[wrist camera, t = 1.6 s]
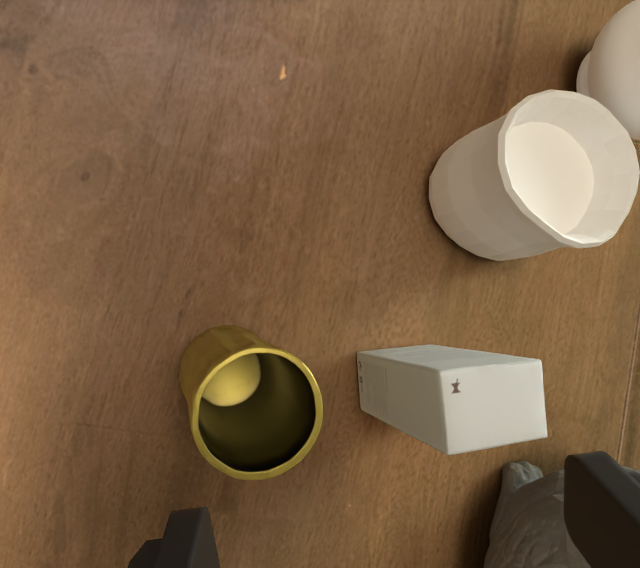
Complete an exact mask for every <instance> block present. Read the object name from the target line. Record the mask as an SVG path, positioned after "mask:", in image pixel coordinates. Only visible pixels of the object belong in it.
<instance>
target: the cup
mask: <svg viewBox="0 0 640 568" xmlns="http://www.w3.org/2000/svg"><path fill="white" fill-rule="evenodd" d="M639 173H640V170H639V164H638V159H637V154H636V149H635V147H634V145H633V142H632V140H631V138H630V136H629V133H628V131H627V130H626V129H625V128H624V127H623V126H622V125H621V124H620V122H619V121H618V120H617V119H616V118H615V117H614V116H613V114H612V113H611V112H610V111H609V110H608V109H607V108H605V107H604V106H603V105H602V104H600V103H599V102H598V101H596V100H595V99H592V98H590V97H587V96H584V95H582V94H579V93H577V92H572V91H562V90H552V89H550V90H547V91H543V92H540V93H536V94H533V95H529V96H527V97H526V98H524V99H523V100H522V101H521V102H519V103H518V104H517V105H516V106H514V107H513V108H512V109H511V110H510V111H509V112H508V113H507V114H505V115H503V116H502V117H500V118H499V119H497V120H495V121H493V122H491V123H489V124H487V125H485V126H483V127H480V128H478V129H476V130H473V131H472V132H470V133H469V134H467V135H465V136H464V137H462V138H461V139H459V140H457V141H456V142H455V143H454V144H453V145H452V146H450V147H449V148H448V149H447V150H446V151H445V152H444V153H443V154H442V155H441V157H440V158H439V160H438V162H437V164H436V166H435V168H434V170H433V172H432V174H431V175H430V177H429V201H430V205H431V208H432V211H433V215H434V218H435V220H436V221H437V223H438V224H439V225H440V227H441V228H442V229H443V231H444V232H445V233H446V235H447V236H448V237H450V238H451V239H452V240H453V241H454V242H456V243H457V244H458V245H459V246H461V247H462V248H464V249H466V250H468V251H469V252H471V253H473V254H475V255H476V256H480V257H484V258H488V259H492V260H496V261H504V260H513V259H520V258H526V257H532V256H536V255H539V254H542V253H545V252H548V251H551V250H554V249H557V248H562V247H574V248H586V247H597V246H599V245H601V244H603V243H604V242H606V241H607V240H609V239H610V238H612V237H613V236H614V235H615V234H616V232H617V230H618V229H619V227H620V226H621V224H622V223H623V221H624V219H625V218H626V216H627V215H628V213H629V211H630V208H631V206H632V203H633V201H634V198H635V196H636V193H637V188H638V181H639Z"/></svg>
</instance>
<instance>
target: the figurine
mask: <svg viewBox="0 0 640 568" xmlns="http://www.w3.org/2000/svg"><path fill="white" fill-rule="evenodd" d="M621 467H622V468H623V469H625V470H626V471H627V472H631V471H635V472H637V473H639V474H640V471H638V470H636V469H632V468H629V467H625V466H621ZM489 538H490V544H489V548H488V550H487V553H486V555H485V560H484V567H483V568H591V567H590V565H589V564H588V563H587V561H586V560H585V558H584V557H583V556H582V554H581V553H580V552H579V550H578V549H577V548H576V546H575V545H574V543H573V542H572V540H571V538H570V536H569V533H568V531H567V528H566V524H565V520H564V470H559V471H556V472H554V473H551V474H549V475H546V476H544V477H543V474H542V472H541V470H540V469H539V468H538V467H537V466H534V465H531V464H530V463H529V462H526V461H522V460H520V461H517V462H516V463H510V462H509V463H507V464H506V465H505V466H504V467H503V470H502V486H501V492H500V495H499V499H498V502H497V505H496V509H495V514H494V518H493V521H492V524H491V529H490V533H489Z"/></svg>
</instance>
